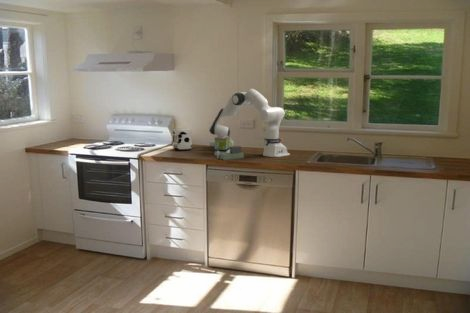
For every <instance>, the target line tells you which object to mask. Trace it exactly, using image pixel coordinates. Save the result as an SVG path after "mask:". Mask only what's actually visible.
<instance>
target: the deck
mask: <svg viewBox="0 0 470 313" xmlns="http://www.w3.org/2000/svg"><path fill="white" fill-rule="evenodd" d="M244 158H245V154H244V152H242V146H239V145H235V146H234V145H233V146H230V153H221V154H220V156H219V151H217V155H216V159H217V160H218V159H220V160H222V159H223V161H225V160H226V161H227V160H236V159H244Z"/></svg>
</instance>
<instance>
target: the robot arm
mask: <svg viewBox="0 0 470 313" xmlns="http://www.w3.org/2000/svg"><path fill="white" fill-rule="evenodd" d="M247 105H252V106H253V107H254V108H255V110H257V111H258V117H259V120H260V121H261V122H268V123H267V125H266V126H265V128H264V140H263V141H264V147H263V148H264V149H263V154H262V156H263V157H270V158H271V157H272V158H273V157H274V158H280V157H286V156H287V157H288V156H290V155H291V153H289V152H288V148H287V146H285V145H284V144H283V143H281V142H283V138H280V136H279V135H280V133H279V131H280V125H281V122H282V121H283V118H284V117H285V110H284V108H282V107H280V106H273V107H272V106H270V105H269V101H268V100H267V98H266V97H264V95H263V94H262V93H261V92H259V91H257V90H256V89H254V88H250V89H248V90H247V91H243V92H242V91H241V92H235V93H234V94H231V96H230V97H229V99H228V100H227V103H226V105H225V107H222V108H221V109H220V110H219V112H218V113H217V114H216V117H215V118H214V120H213V122H212V123H211V124H210V126H209V130H208V131H209V133H210V134H212V135H215V136H230V135H231V129H230V128H229V127H228V126H225V125H222V124H219V122H220V121H221V119H222V118H223V117H234V116H236V114H238V111H239V109H240V107H241V106H247ZM209 146H211V147H215V140H210V141H209ZM233 146H234V140H233V139H232V138H230V147H233Z"/></svg>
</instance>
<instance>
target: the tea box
mask: <svg viewBox="0 0 470 313" xmlns="http://www.w3.org/2000/svg"><path fill="white" fill-rule="evenodd" d="M230 139H231V136H230V135H229V136H218V135H216V136H215V137H214V141H215V146H214V156H217V151H219V157H220V154H221V153H230V147H231V146H230Z"/></svg>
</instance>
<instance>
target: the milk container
mask: <svg viewBox="0 0 470 313" xmlns="http://www.w3.org/2000/svg"><path fill="white" fill-rule="evenodd" d="M192 148H193V141H192V129H191V128H183V127H181V128H173V130H172V149H173V150H175V151H189V150H191V149H192Z"/></svg>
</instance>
